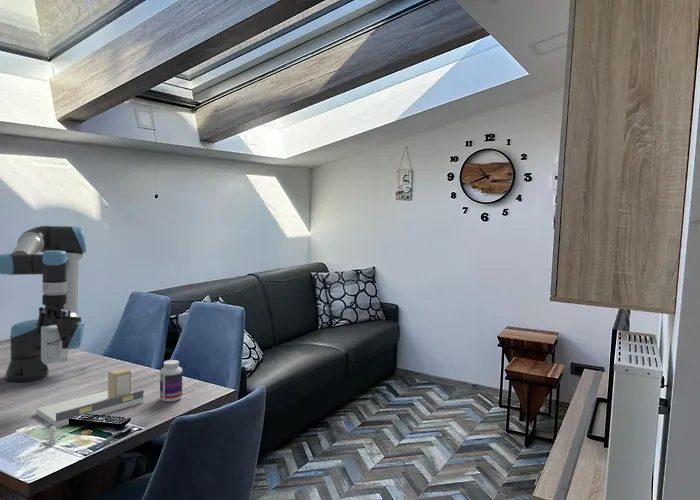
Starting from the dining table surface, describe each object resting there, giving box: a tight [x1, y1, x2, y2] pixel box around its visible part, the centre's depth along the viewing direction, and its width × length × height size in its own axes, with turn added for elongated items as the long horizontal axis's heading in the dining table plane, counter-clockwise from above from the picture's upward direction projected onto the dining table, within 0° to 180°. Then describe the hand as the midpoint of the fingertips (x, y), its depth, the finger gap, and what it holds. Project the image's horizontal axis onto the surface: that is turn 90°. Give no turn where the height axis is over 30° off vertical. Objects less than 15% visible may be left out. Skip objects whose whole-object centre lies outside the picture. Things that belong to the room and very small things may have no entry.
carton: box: [107, 367, 132, 399], centre depth 184 cm, size 5×6×10 cm
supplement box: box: [41, 325, 68, 365], centre depth 180 cm, size 7×7×13 cm
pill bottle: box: [159, 359, 183, 403], centre depth 190 cm, size 8×8×14 cm
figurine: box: [41, 425, 62, 447], centre depth 150 cm, size 8×8×6 cm
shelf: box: [36, 389, 144, 429], centre depth 178 cm, size 16×30×5 cm, turn 143°
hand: (54, 355), depth 180 cm, fingers closed on supplement box, 9 cm apart
